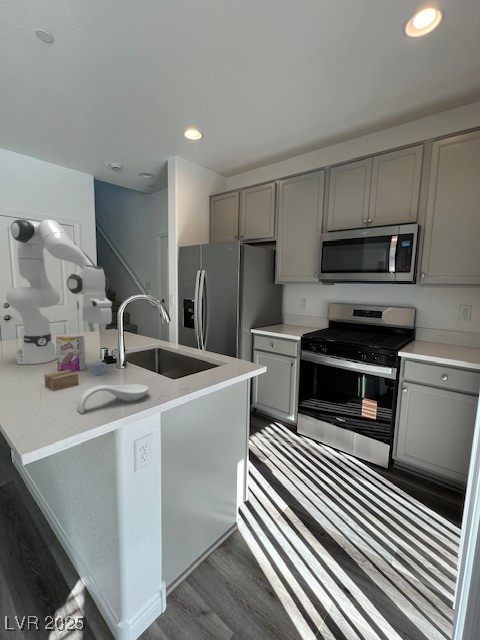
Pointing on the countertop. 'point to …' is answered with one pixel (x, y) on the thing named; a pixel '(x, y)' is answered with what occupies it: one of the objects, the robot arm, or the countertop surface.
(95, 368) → the slate blue cube
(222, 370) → the countertop surface
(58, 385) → the walnut block
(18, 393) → the countertop surface
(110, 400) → the countertop surface
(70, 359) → the candy bar box
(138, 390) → the spoon rest
